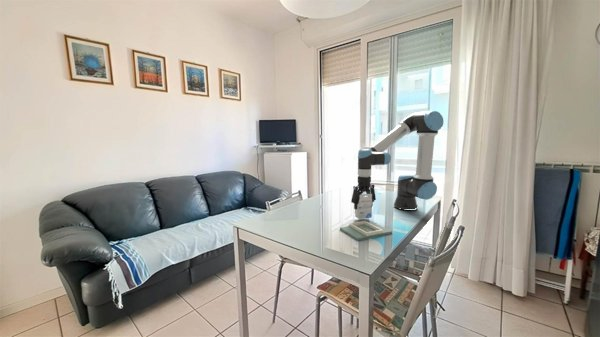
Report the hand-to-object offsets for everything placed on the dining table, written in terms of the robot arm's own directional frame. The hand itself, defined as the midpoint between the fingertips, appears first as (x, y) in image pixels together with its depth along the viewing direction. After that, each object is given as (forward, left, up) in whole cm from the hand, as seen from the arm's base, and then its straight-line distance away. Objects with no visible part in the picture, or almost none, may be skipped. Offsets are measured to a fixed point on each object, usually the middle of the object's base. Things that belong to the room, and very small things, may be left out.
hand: (363, 213), depth 147 cm
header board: (+10, +15, -4) cm, 19 cm away
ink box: (0, 0, -3) cm, 3 cm away
